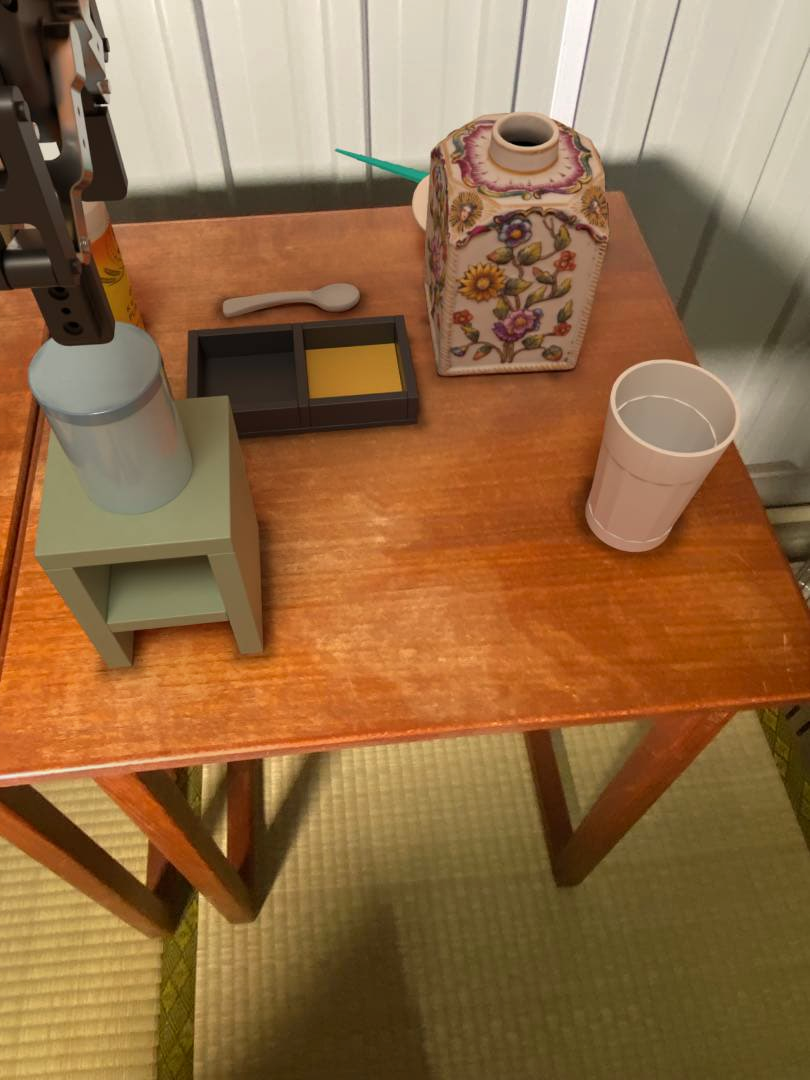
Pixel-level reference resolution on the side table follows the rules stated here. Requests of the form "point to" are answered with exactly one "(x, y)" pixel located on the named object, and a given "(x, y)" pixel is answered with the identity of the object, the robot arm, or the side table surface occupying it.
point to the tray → (307, 374)
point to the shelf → (159, 545)
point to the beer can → (109, 264)
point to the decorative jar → (513, 244)
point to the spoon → (297, 299)
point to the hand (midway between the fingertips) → (96, 263)
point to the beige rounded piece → (421, 203)
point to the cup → (657, 450)
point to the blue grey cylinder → (115, 419)
